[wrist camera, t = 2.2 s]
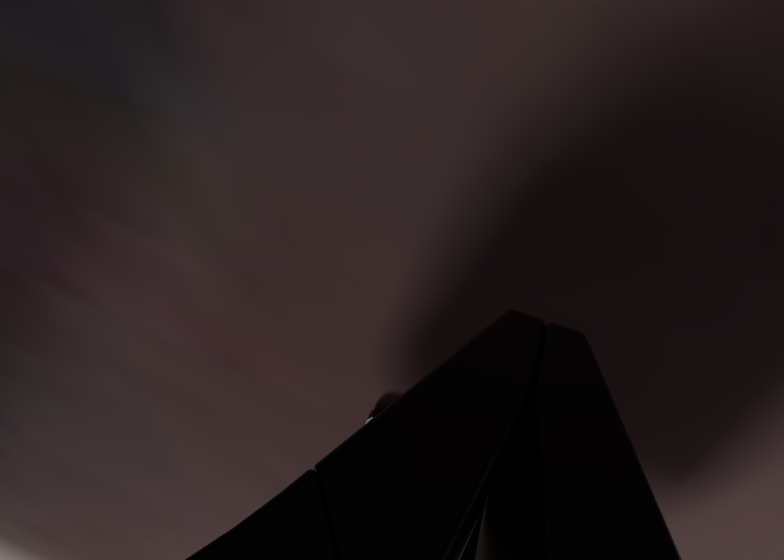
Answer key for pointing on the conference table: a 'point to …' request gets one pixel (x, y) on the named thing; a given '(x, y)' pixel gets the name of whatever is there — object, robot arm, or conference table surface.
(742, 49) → the conference table surface
